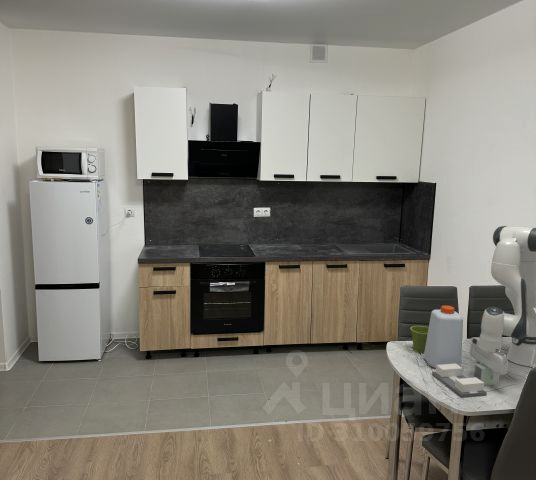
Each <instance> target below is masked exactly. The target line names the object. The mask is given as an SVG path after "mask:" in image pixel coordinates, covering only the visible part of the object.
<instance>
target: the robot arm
mask: <svg viewBox="0 0 536 480" xmlns="http://www.w3.org/2000/svg"><path fill="white" fill-rule="evenodd" d="M492 242H493V244H494V246H495V249H494V251H493V256H492V261H491V267H490V274H491V276H492V279H494V280H495V281H496V282H497V283H499V284H500V285H501V286H504V287H505V289H504V290H505V291H504V292H505V295H506V297H507V298H508V300H509V301H510V302H511V304H512V308H513V312H514V314H510V313H508V312H507V313H506V312H505V311H504V310H503V309H502V308H499V307H494V306H489V307H486V308H485V309H484V310H483V311H484V312H483V313H482V315H481V318H480V330H481V332H480V335H479V336H478V337H471V338H470V339H471V342H470V343H471V344H470V347H469V356H470V357H471V358H472V359H474V361H475V365H476V364H484V365H485V366H487V367H488V368H490V369H491V370H493V373H494V375H491V379H492V380H493V381H496V380H497V376H498V375H499V374H500V375H506V374H507V373H508V368H509V365H508V364H509V362H508V361H510V362H511V363H514V364H516V365H520V366H523V367H524V366H525V367H528V368H529V367H530V368H533V367H536V311H535V309H536V227H527V226H522V225H521V226H513V225H512V226H507V225H501V226H498V227H497V228H496V229H495V230H494V232H493V234H492ZM503 336H506V337H509V338H511V341H510V345H509V349H508V351H507V354H506V353H505V352H503V351H502V344H503ZM500 375H499V376H500Z"/></svg>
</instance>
